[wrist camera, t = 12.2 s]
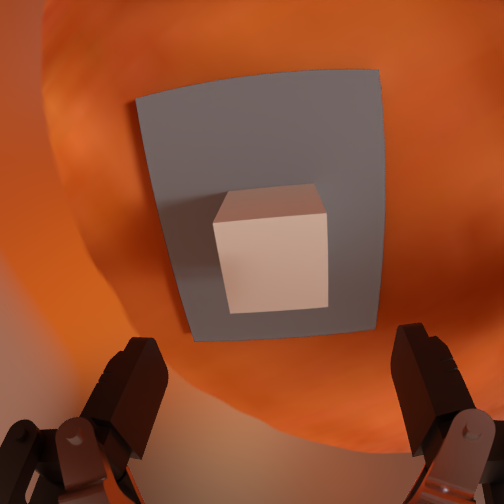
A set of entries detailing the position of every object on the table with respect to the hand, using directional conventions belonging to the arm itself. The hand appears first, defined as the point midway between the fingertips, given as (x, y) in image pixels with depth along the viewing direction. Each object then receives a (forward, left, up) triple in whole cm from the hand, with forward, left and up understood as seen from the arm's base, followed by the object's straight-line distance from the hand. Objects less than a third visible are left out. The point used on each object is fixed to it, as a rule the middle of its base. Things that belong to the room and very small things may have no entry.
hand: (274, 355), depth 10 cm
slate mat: (0, 0, -12) cm, 12 cm away
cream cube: (0, 0, -11) cm, 11 cm away
